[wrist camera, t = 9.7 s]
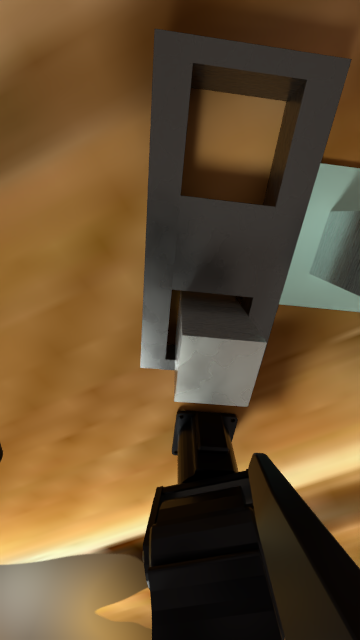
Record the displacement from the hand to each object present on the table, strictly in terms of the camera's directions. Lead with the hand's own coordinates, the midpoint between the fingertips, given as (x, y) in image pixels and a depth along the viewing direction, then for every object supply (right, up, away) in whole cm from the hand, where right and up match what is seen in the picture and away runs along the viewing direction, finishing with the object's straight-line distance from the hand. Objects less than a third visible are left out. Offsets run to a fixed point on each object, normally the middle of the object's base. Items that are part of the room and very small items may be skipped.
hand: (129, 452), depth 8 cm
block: (+4, +5, +12) cm, 14 cm away
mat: (+15, +10, +10) cm, 20 cm away
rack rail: (+5, +10, +10) cm, 15 cm away
